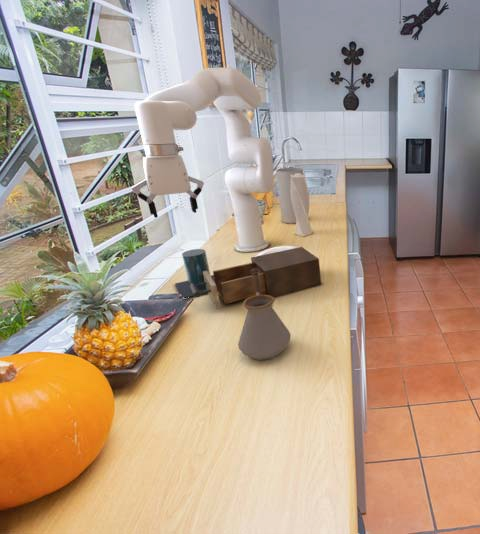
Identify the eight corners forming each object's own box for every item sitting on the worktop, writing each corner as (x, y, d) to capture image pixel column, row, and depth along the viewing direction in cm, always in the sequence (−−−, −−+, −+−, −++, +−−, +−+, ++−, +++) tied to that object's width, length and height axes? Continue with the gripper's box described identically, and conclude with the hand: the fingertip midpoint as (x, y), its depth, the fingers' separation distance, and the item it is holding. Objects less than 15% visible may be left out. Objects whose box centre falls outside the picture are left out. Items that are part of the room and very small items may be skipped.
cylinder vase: (284, 217, 198) (278, 168, 189) (309, 216, 199) (304, 167, 190) (280, 224, 187) (273, 172, 177) (306, 223, 188) (301, 171, 178)
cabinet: (268, 298, 114) (264, 271, 110) (255, 283, 124) (250, 257, 121) (321, 284, 123) (318, 258, 119) (304, 270, 133) (301, 246, 130)
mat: (175, 285, 123) (175, 283, 123) (218, 275, 130) (218, 273, 130) (181, 300, 113) (181, 298, 113) (228, 288, 120) (227, 287, 120)
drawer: (199, 313, 104) (193, 290, 101) (191, 296, 114) (186, 274, 111) (272, 293, 115) (269, 272, 112) (259, 279, 124) (256, 259, 121)
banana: (311, 254, 148) (306, 269, 134) (261, 258, 147) (251, 273, 133) (309, 242, 146) (304, 256, 133) (259, 246, 145) (248, 260, 131)
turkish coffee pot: (295, 358, 86) (286, 298, 81) (240, 370, 83) (227, 308, 77) (285, 314, 105) (278, 263, 99) (240, 322, 101) (230, 270, 95)
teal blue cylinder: (188, 284, 122) (180, 251, 118) (210, 279, 126) (203, 247, 121) (192, 293, 116) (184, 259, 112) (215, 287, 120) (208, 254, 116)
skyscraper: (316, 233, 173) (310, 169, 162) (304, 237, 167) (297, 172, 157) (304, 230, 177) (297, 168, 166) (292, 234, 171) (284, 170, 161)
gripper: (194, 148, 110) (206, 207, 116) (122, 152, 101) (138, 216, 107) (199, 150, 104) (211, 212, 111) (123, 153, 95) (140, 221, 101)
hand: (175, 214), depth 109 cm, fingers open, 9 cm apart
